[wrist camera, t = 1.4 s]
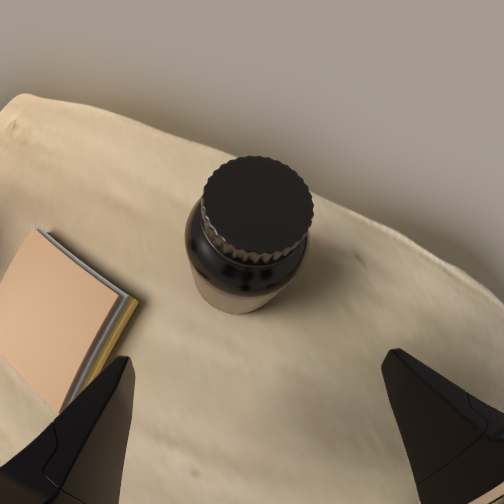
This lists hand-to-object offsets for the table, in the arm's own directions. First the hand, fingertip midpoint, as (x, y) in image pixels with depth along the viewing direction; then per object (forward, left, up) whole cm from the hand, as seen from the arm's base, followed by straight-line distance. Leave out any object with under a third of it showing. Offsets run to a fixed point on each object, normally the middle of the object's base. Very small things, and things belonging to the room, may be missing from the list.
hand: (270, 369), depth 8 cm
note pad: (-6, +15, -13) cm, 21 cm away
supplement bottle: (+6, +3, -13) cm, 15 cm away
